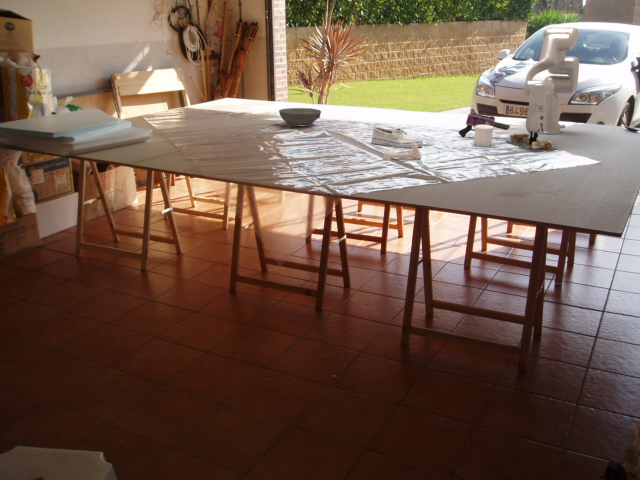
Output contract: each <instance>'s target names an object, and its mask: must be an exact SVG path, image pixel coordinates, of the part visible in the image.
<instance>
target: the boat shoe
mask: <svg viewBox="0 0 640 480" xmlns="http://www.w3.org/2000/svg"><path fill="white" fill-rule="evenodd" d="M404 142H414V143H416V144H417V146H418V148H422V147H423V146H424V142H423V140H422V139H420V137H415V136H411V135H409V134H408V133H407V132H406V131H405V130H403V128H400V127H394V129H389V128H384V127H379V126H374V127H373V131H372V136H371V144H373V145H379V146H389V147H392V148H397V149H398V148H399V149H412V147H411V145H412V143H404ZM400 143H402V144H400Z"/></svg>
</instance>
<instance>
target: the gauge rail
mask: <svg viewBox="0 0 640 480" xmlns="http://www.w3.org/2000/svg"><path fill="white" fill-rule="evenodd" d="M509 140H511V141H517V140H518V141H524V142H527V143H529V140H530V136H529V133H513V134H510V135H509ZM537 141H539V139H537ZM552 147H553V144H551V145H550V144H545V149H552Z"/></svg>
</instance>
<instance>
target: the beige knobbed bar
mask: <svg viewBox="0 0 640 480" xmlns="http://www.w3.org/2000/svg"><path fill="white" fill-rule="evenodd" d="M404 143H412V145H411V147H412V148H411V151H412V152H402V153H392V152H391V151H389V150H387V151H385V152H384V153H383V154H382V155H383V161H391V160H392V158H399V159H400V158H402V159H414V160H419V159H421V158H422V154H421V152H420V149H419V147H418V146H417V144H416V143H414V142H404ZM400 144H402V143H400Z"/></svg>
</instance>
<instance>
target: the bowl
mask: <svg viewBox="0 0 640 480" xmlns="http://www.w3.org/2000/svg"><path fill="white" fill-rule="evenodd" d="M278 113H279V116H280V118H281V119H282V120H283V122H284V123H286V124H288V125H289V124H290V126H292V125H308V126H310V125H312V124H313V123H314V122H316V120H318V119H320V118H321V114H322V110H320V109H318V108H311V107H309V108H307V107H294V108H293V107H291V108H282V109H281V108H280V109H279V110H278ZM309 124H310V125H309Z"/></svg>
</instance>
